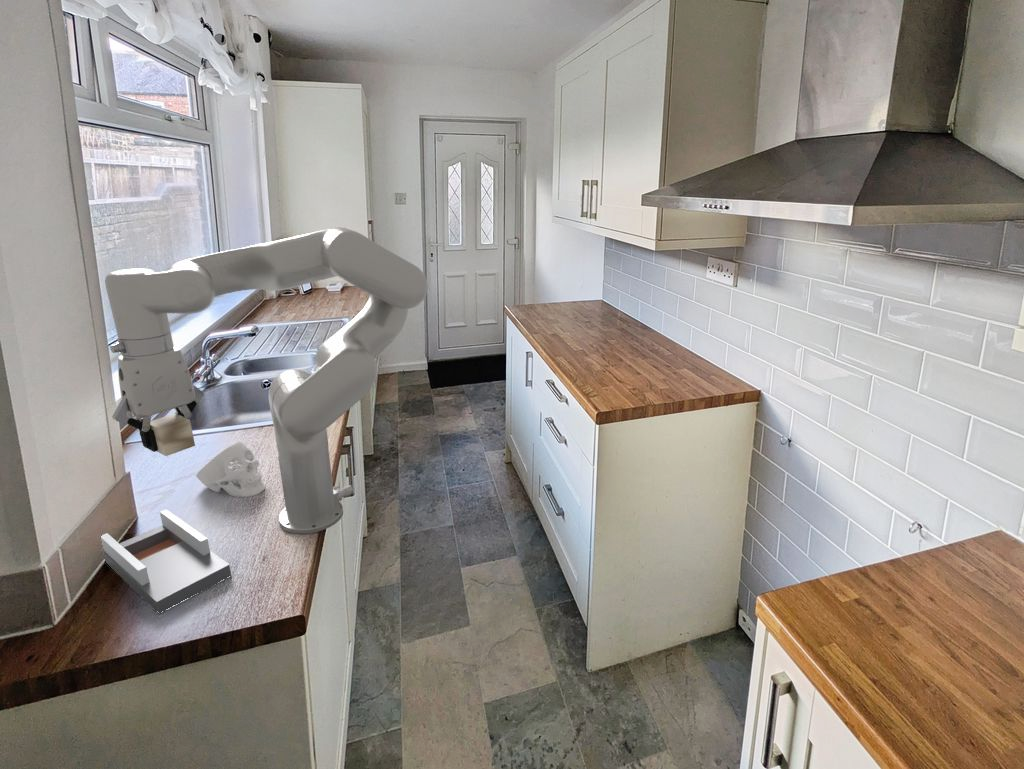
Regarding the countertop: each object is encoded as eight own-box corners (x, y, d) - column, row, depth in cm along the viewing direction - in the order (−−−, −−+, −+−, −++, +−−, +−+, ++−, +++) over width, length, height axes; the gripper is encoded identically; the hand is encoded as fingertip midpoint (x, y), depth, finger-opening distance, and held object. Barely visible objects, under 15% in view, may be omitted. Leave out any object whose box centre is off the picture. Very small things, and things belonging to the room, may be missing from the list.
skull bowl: (251, 500, 124) (218, 452, 123) (213, 520, 130) (181, 475, 129) (283, 477, 134) (253, 432, 132) (246, 497, 140) (217, 454, 138)
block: (181, 438, 106) (175, 413, 104) (195, 445, 103) (189, 419, 101) (152, 448, 102) (145, 422, 100) (165, 456, 99) (159, 429, 97)
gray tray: (104, 562, 106) (97, 536, 104) (173, 532, 115) (167, 508, 113) (159, 614, 94) (152, 586, 92) (231, 576, 103) (226, 550, 101)
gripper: (99, 361, 88) (126, 468, 95) (209, 337, 101) (226, 432, 108) (79, 353, 93) (106, 455, 99) (186, 330, 106) (205, 422, 112)
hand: (168, 442), depth 103 cm, fingers closed on block, 5 cm apart
